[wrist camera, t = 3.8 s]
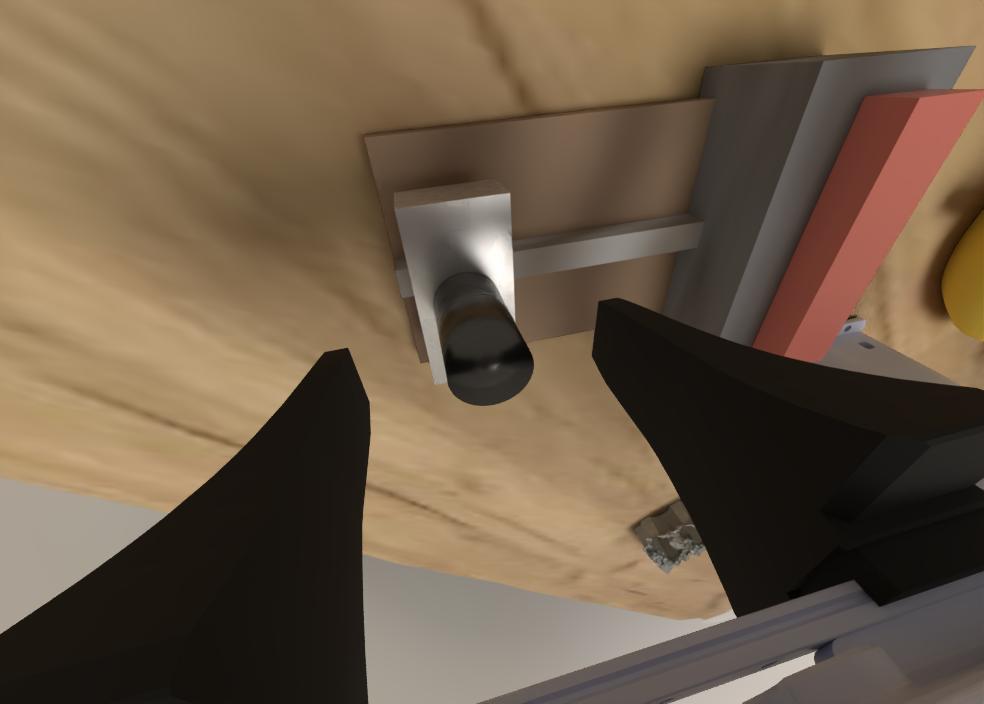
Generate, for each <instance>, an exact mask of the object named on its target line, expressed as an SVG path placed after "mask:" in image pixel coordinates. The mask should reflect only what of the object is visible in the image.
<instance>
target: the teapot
mask: <svg viewBox="0 0 984 704" xmlns="http://www.w3.org/2000/svg"><path fill="white" fill-rule="evenodd" d="M941 290H942V295H943V298H944V303H945V306H946V309H947V311H948V314H949V316H950V318H951V320H952V322H953V324H954V325H955V326H956V327H957V328H958V329H959V330H960V331H962V332H963V333H964V334H965V335H968V336H970V337H973V338H975V339H978V340H980V341H983V342H984V209H983V210H982V212H981V213H980V214H979V215H978V216H977V218H976V219H975V220H974V221H973V223H972V224H971V225H970V227H969V228H968V229H967V231H966V232H965V233H964V235H963V236H962V238H961V239H960V241H959V243H958V244H957V246H956V247H955V249H954V251H953V253H952V254H951V256H950V258H949V260H948V262H947V265H946V267H945V270H944V273H943V277H942V282H941Z"/></svg>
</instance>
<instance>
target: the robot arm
mask: <svg viewBox="0 0 984 704" xmlns="http://www.w3.org/2000/svg"><path fill="white" fill-rule="evenodd" d="M865 324H866V320H864V319H862V318H854V319H850V320H846V322H845V324H844V325H843V327H842V329H841V330H840V332H839V333H838V335H837V337H836V338H835V340H834V342H833V343H832V345H831V347H830V348H829V350H828V351H827V353H826V355H825V356H824V358H823V360H820V361H815V362H811V363H810V362H806V361H802V360H797V359H793V358H789V357H785V356H781V355H777V354H773V353H769V352H766V351H763V350H759V349H756V348H752V347H749V346H745V345H742V344H739V343H736V342H733V341H730V340H727V339H724V338H721V337H718V336H715V335H713V334H710V333H707V332H704V331H702V330H699V329H696V328H694V327H691V326H689V325H686V324H684V323H681V322H679V321H676V320H674V319H671V318H669V317H667V316H664V315H662V314H659V313H657V312H655V311H652V310H650V309H647V308H645V307H643V306H640V305H638V304H635V303H632V302H630V301H627V300H624V299H621V298H612V299H607V300H602V301H598V308H597V317H596V325H595V333H594V342H593V350H592V357H593V359H594V361H595V363H596V365H597V367H598V369H599V371H600V373H601V375H602V377H603V379H604V381H605V382H606V384H607V385H608V387H609V388H610V390H611V391H612V392H613V394H614V395H615V397H616V398H617V400H618V401H619V402H620V404H621V405H622V407H623V408H624V409H625V411H626V412H627V413H628V415H629V416H630V418H631V419H632V420H633V422H634V423H635V424H636V426H637V427H638V429H639V430H640V431H641V433H642V434H643V435H644V437H645V438H646V440H647V441H648V443H649V444H650V446H651V447H652V449H653V450H654V452H655V453H656V455H657V457H658V459H659V460H660V462H661V464H662V466H663V467H664V469H665V471H666V473H667V474H668V476H669V478H670V480H671V481H672V483H673V485H674V487H675V489H676V491H677V493H678V495H679V496H680V498H681V500H682V502H683V504H684V506H685V508H686V510H687V511H688V513H689V515H690V517H691V519H692V521H693V523H694V526H695V528H696V530H697V532H698V534H699V536H700V538H701V540H702V542H703V544H704V546H705V548H706V550H707V552H708V554H709V556H710V559H711V561H712V563H713V565H714V568H715V570H716V572H717V574H718V576H719V579H720V581H721V583H722V585H723V587H724V590H725V592H726V594H727V597H728V599H729V601H730V604H731V606H732V609H733V611H734V613H735V615H736V616H737V618H736V619H733V620H729V621H726V622H724V623H720V624H717V625H714V626H711V627H708V628H705V629H702V630H699V631H696V632H693V633H690V634H687V635H684V636H681V637H678V638H675V639H672V640H669V641H666V642H663V643H660V644H657V645H653V646H651V647H647V648H644V649H641V650H638V651H635V652H632V653H629V654H626V655H623V656H620V657H617V658H614V659H611V660H608V661H605V662H602V663H599V664H596V665H593V666H590V667H587V668H584V669H581V670H577V671H574V672H572V673H568V674H565V675H562V676H559V677H556V678H553V679H550V680H547V681H544V682H541V683H538V684H535V685H532V686H529V687H526V688H523V689H520V690H517V691H514V692H511V693H508V694H504V695H502V696H498V697H495V698H493V699H489V700H486V701H483V702H480V703H477V704H668V703H671V702H674V701H677V700H679V699H682V698H685V697H688V696H690V695H694V694H696V693H699V692H702V691H705V690H708V689H711V688H713V687H716V686H719V685H722V684H725V683H727V682H730V681H733V680H736V679H738V678H742V677H744V676H747V675H750V674H753V673H756V672H758V671H761V670H764V669H767V668H770V667H772V666H775V665H778V664H781V663H784V662H786V661H790V660H792V659H795V658H798V657H801V656H803V655H806V654H809V653H812V652H815V651H816V652H815V656H814V661H815V664H816V665H814V666H811V667H808V668H806V669H804V670H801V671H799V672H797V673H794V674H792V675H790V676H787V677H785V678H783V679H782V680H781V681H780V682H779V683H778V684H776V685H775V686H773V687H771V688H770V689H768V690H767V691H765V692H763V693H761V694H759V695H757V696H755V697H754V698H751V699H749V700H748V701H746V702H743V703H742V704H984V390H981V389H978V388H971V387H963V386H960V385H958V384H957V383H956V382H954V381H952V380H951V379H949V378H947V377H945V376H943V375H941V374H939V373H937V372H936V371H934V370H932V369H930V368H928V367H926V366H924V365H922V364H920V363H919V362H917V361H915V360H913V359H911V358H909V357H907V356H905V355H903V354H902V353H900V352H898V351H896V350H894V349H892V348H890V347H888V346H886V345H885V344H883V343H881V342H879V341H877V340H875V339H873V338H871V337H869V336H868V335H866V334H864V333H862V332H861V331H862V329H863V328H864V326H865ZM370 435H371V428H370V404H369V400H368V397H367V395H366V392H365V389H364V387H363V384H362V382H361V379H360V377H359V374H358V372H357V369H356V367H355V364H354V362H353V359H352V356H351V354H350V351H349V349H348V348H344V349H339V350H333V351H328V352H324V354H323V355H322V356H321V357H320V358H319V359H318V361H317V362H316V363H315V365H314V366H313V367H312V368H311V370H310V371H309V372H308V373H307V375H306V376H305V377H304V379H303V380H302V381H301V382H300V384H299V385H298V386H297V387H296V389H295V390H294V391H293V392H292V393H291V395H290V396H289V397H288V398H287V400H286V401H285V402H284V403H283V405H282V406H281V407H280V408H279V409H278V410H277V411H276V412H275V414H274V415H273V416H272V417H271V418H270V419H269V420H268V421H267V422H266V424H265V425H264V426H263V427H262V428H261V429H260V430H259V431H258V433H257V434H256V435H255V436H254V437H253V438H252V439H251V440H250V441H249V442H248V443H247V444H246V445H245V446H244V447H243V448H242V449H241V450H240V451H239V452H238V453H237V454H236V455H235V456H234V457H233V458H232V459H231V460H230V461H229V462H228V463H227V464H226V465H224V466H223V467H222V468H221V469H220V470H219V471H218V472H217V473H216V474H215V475H214V476H213V477H212V478H210V479H209V480H208V481H207V482H206V483H205V484H204V485H202V486H201V487H200V488H199V489H198V490H196V491H195V492H194V493H193V494H192V495H190V496H189V497H188V498H187V499H186V500H184V501H183V502H182V503H181V504H180V505H179V506H177V507H176V508H175V509H174V510H173V511H171V512H170V513H169V514H168V515H167V516H165V517H164V518H163V519H162V520H160V521H159V522H158V523H157V524H155V525H154V526H153V527H151V528H150V529H149V530H148V531H146V532H145V533H144V534H142V535H141V536H140V537H139V538H137V539H136V540H135V541H133V542H132V543H131V544H129V545H128V546H127V547H125V548H124V549H123V550H121V551H120V552H119V553H117V554H116V555H114V556H113V557H112V558H110V559H109V560H108V561H106V562H105V563H103V564H102V565H101V566H99V567H98V568H97V569H95V570H94V571H92V572H91V573H90V574H88V575H87V576H85V577H84V578H83V579H81V580H80V581H78V582H77V583H75V584H74V585H73V586H71V587H69V588H68V589H67V590H65V591H64V592H62V593H61V594H59V595H58V596H56V597H55V598H53V599H52V600H50V601H49V602H48V603H46V604H44V605H43V606H41V607H40V608H38V609H37V610H35V611H34V612H33V613H31V614H30V615H28V616H27V617H25V618H24V619H22V620H21V621H19V622H18V623H16V624H15V625H13V626H12V627H10V628H9V629H8V630H6V631H4V632H3V633H2V634H0V704H368V691H367V676H366V658H365V636H364V614H363V613H364V611H363V572H362V521H363V506H364V496H365V486H366V477H367V467H368V457H369V446H370Z"/></svg>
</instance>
